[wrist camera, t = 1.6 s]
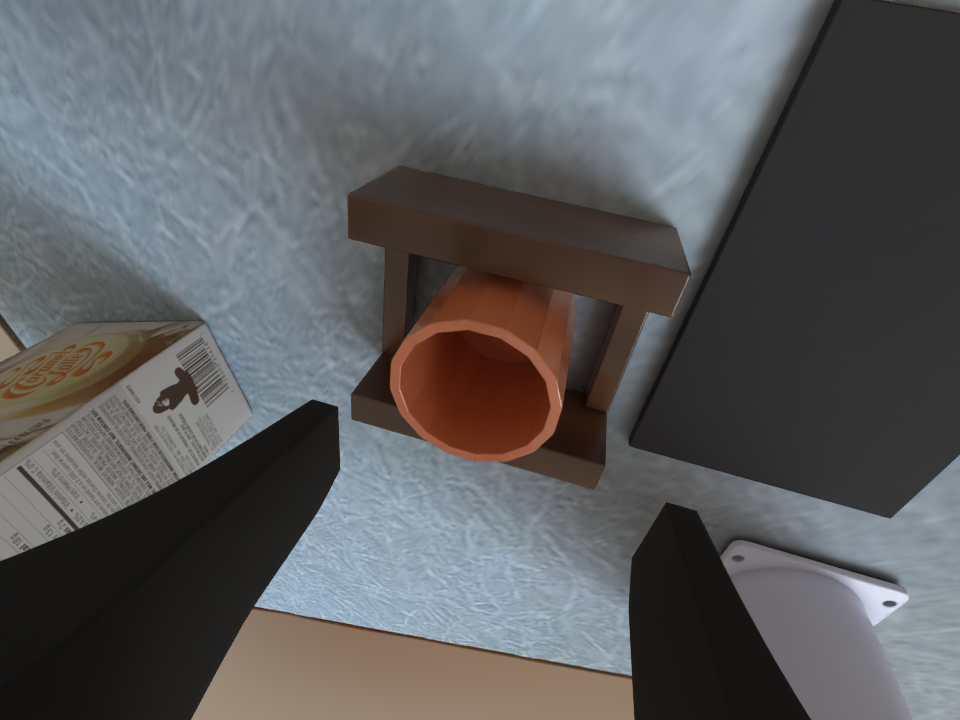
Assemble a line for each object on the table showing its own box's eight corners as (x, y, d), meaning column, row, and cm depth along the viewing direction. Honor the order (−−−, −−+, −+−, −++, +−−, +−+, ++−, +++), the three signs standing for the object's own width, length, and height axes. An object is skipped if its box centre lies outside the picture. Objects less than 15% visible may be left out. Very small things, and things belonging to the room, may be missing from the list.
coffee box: (136, 411, 29) (-247, 703, 16) (74, 320, 26) (-470, 596, 13) (259, 416, 27) (-81, 768, 14) (207, 315, 23) (-306, 655, 10)
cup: (557, 376, 20) (538, 480, 15) (440, 345, 21) (387, 435, 16) (592, 263, 17) (582, 348, 12) (454, 230, 18) (393, 300, 13)
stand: (598, 422, 21) (594, 490, 18) (389, 365, 22) (350, 420, 19) (677, 227, 16) (692, 274, 13) (398, 165, 17) (346, 193, 14)
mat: (885, 509, 20) (890, 519, 20) (628, 439, 21) (628, 446, 21) (1340, 77, 11) (1369, 79, 10) (836, -5, 12) (844, -7, 12)
